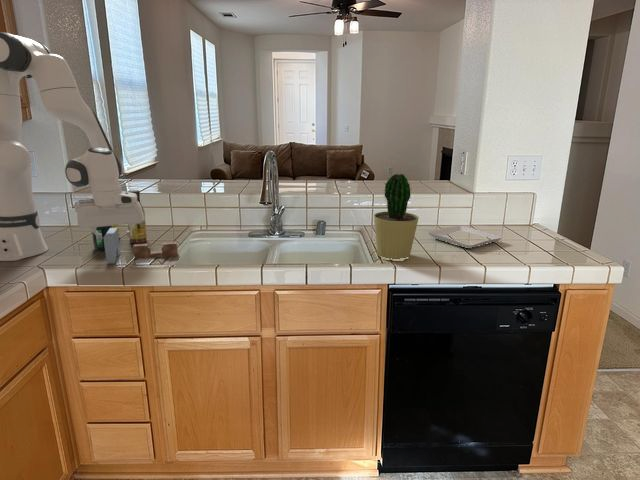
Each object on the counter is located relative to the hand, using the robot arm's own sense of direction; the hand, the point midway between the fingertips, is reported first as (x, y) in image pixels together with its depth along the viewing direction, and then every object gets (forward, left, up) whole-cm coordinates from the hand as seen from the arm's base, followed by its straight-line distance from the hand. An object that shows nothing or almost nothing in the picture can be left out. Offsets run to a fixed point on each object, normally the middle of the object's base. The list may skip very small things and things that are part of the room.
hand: (114, 237), depth 147 cm
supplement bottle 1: (-6, +12, -7) cm, 15 cm away
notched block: (+13, -3, -7) cm, 15 cm away
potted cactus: (+94, -22, -7) cm, 97 cm away
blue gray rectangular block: (-1, 0, -7) cm, 7 cm away
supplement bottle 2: (-6, +25, -7) cm, 26 cm away
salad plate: (+130, -10, -8) cm, 131 cm away
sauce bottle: (+5, +18, -7) cm, 20 cm away
